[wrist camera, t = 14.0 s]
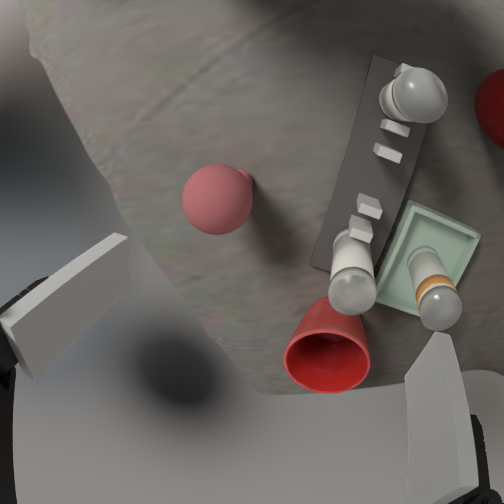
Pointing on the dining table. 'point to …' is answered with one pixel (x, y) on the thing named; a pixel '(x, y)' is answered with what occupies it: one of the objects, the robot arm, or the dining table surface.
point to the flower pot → (328, 350)
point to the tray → (417, 235)
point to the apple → (492, 106)
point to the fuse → (351, 275)
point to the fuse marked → (433, 289)
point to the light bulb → (218, 198)
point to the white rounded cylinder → (414, 97)
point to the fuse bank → (371, 171)
